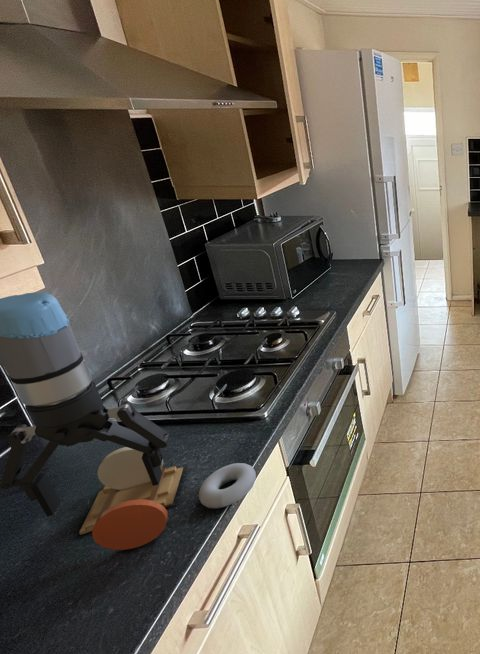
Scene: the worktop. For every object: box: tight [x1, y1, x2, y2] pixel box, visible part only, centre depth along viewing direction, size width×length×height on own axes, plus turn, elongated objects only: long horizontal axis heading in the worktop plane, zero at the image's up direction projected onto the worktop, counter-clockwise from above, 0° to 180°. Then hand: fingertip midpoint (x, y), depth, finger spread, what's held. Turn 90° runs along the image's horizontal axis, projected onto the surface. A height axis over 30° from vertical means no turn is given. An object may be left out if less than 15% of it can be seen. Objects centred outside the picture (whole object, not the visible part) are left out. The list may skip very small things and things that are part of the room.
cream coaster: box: [96, 446, 164, 490], centre depth 85 cm, size 10×1×10 cm, turn 116°
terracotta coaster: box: [91, 499, 169, 551], centre depth 74 cm, size 10×1×10 cm, turn 116°
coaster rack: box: [78, 465, 184, 536], centre depth 84 cm, size 14×10×2 cm
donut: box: [198, 462, 257, 509], centre depth 86 cm, size 10×4×10 cm
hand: (108, 493), depth 71 cm, fingers open, 13 cm apart
